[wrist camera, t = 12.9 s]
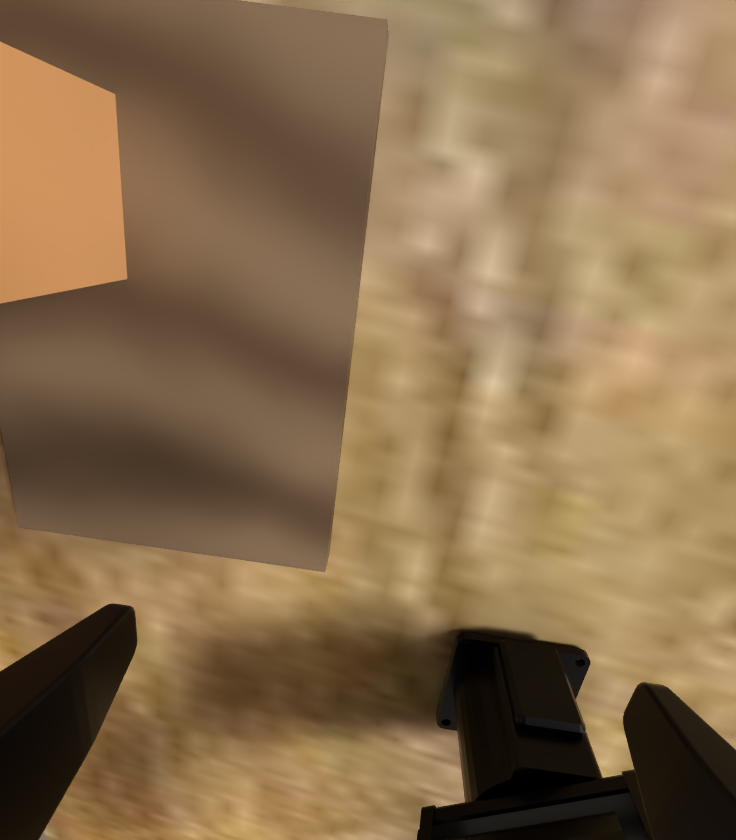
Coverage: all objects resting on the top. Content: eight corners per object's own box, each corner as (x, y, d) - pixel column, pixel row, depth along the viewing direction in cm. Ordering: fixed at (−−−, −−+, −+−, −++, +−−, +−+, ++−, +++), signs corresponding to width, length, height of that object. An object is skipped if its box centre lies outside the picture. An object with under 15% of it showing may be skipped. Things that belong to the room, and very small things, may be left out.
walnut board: (328, 555, 22) (325, 572, 21) (37, 512, 23) (18, 527, 22) (388, 35, 15) (387, 19, 14) (-52, -22, 15) (-89, -42, 14)
